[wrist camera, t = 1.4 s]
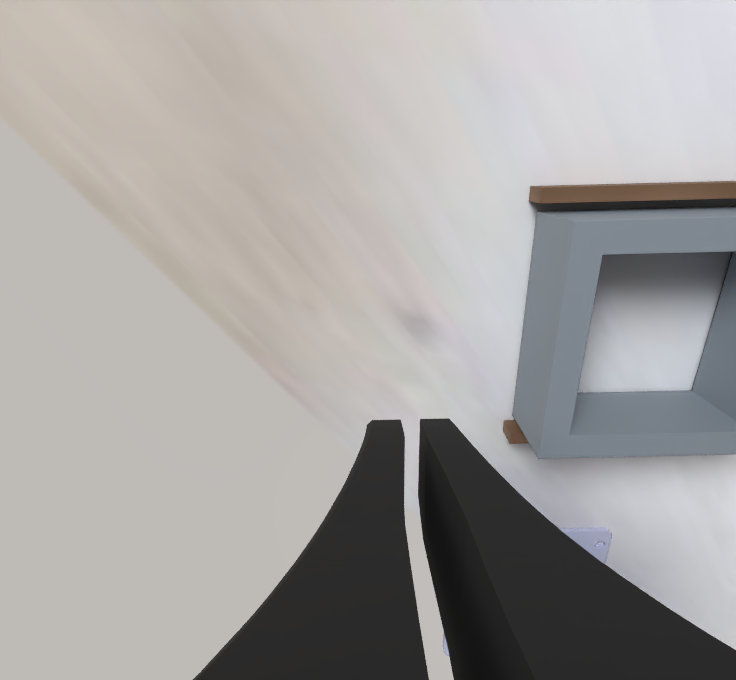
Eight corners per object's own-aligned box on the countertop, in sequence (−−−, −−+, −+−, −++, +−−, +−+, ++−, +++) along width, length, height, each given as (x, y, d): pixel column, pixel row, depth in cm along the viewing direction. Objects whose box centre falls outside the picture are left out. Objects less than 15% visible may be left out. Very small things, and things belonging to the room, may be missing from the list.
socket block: (709, 410, 18) (769, 453, 16) (512, 414, 19) (538, 458, 16) (774, 204, 15) (865, 213, 12) (537, 211, 15) (574, 221, 13)
